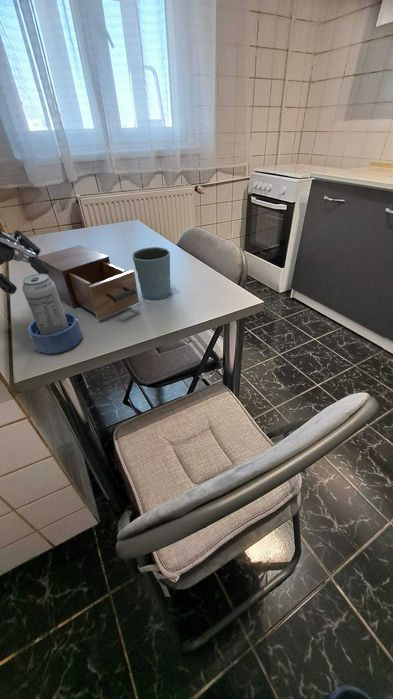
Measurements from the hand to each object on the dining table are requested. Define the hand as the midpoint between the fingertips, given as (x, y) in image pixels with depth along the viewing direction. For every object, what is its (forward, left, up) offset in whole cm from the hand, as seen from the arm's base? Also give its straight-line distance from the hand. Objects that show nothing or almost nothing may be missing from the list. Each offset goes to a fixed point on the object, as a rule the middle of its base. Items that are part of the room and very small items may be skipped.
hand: (31, 282), depth 60 cm
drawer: (+18, +4, -14) cm, 23 cm away
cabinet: (+18, +19, -14) cm, 29 cm away
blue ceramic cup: (+32, +1, -15) cm, 35 cm away
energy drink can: (+1, -1, -14) cm, 14 cm away
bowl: (+1, -1, -14) cm, 15 cm away
